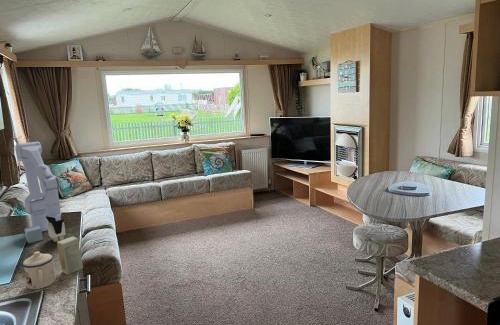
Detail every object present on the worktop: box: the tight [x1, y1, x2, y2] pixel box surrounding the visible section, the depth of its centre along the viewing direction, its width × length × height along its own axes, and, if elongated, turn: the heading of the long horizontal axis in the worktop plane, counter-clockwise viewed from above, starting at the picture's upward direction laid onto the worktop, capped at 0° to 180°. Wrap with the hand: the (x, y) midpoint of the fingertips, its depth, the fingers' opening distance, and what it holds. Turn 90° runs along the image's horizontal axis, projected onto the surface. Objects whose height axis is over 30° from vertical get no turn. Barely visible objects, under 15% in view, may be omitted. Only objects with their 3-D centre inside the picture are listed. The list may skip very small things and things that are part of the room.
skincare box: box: [56, 235, 84, 275], centre depth 136 cm, size 6×4×12 cm
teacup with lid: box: [22, 250, 56, 290], centre depth 126 cm, size 12×9×12 cm
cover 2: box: [47, 222, 67, 239], centre depth 168 cm, size 6×6×6 cm
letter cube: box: [51, 235, 65, 243], centre depth 168 cm, size 4×4×4 cm
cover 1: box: [24, 226, 44, 244], centre depth 169 cm, size 6×6×6 cm
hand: (56, 231), depth 168 cm, fingers closed on cover 2, 6 cm apart
